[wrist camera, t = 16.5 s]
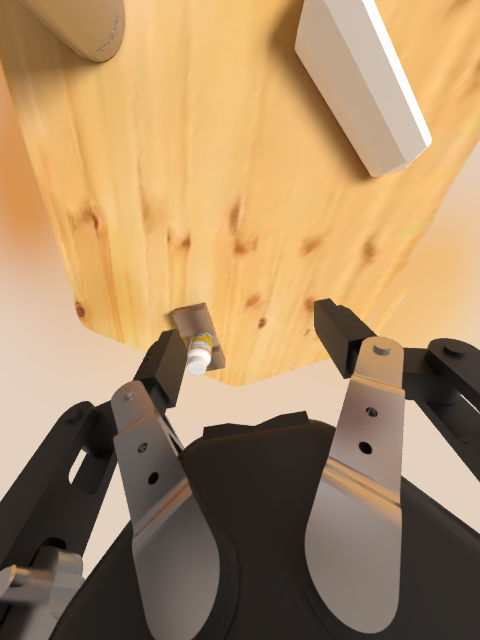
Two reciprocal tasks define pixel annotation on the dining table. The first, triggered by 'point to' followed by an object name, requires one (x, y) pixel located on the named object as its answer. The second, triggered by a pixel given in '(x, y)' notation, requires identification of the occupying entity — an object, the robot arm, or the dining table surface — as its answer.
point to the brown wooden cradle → (199, 330)
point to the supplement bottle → (199, 353)
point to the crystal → (362, 82)
